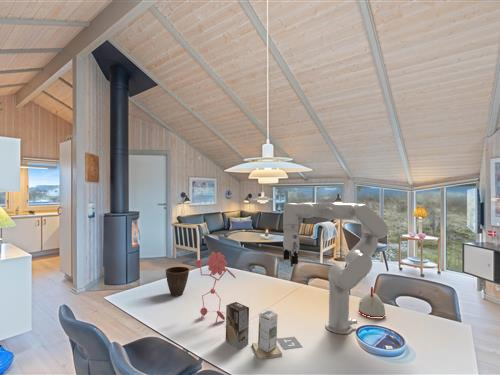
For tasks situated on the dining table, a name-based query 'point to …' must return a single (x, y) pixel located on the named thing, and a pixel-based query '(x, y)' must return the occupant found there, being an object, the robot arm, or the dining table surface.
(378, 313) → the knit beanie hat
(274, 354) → the tray
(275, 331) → the syrup box
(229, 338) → the coffee box
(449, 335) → the dining table surface
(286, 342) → the plaque
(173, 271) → the plant pot
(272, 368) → the dining table surface
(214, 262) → the figurine
